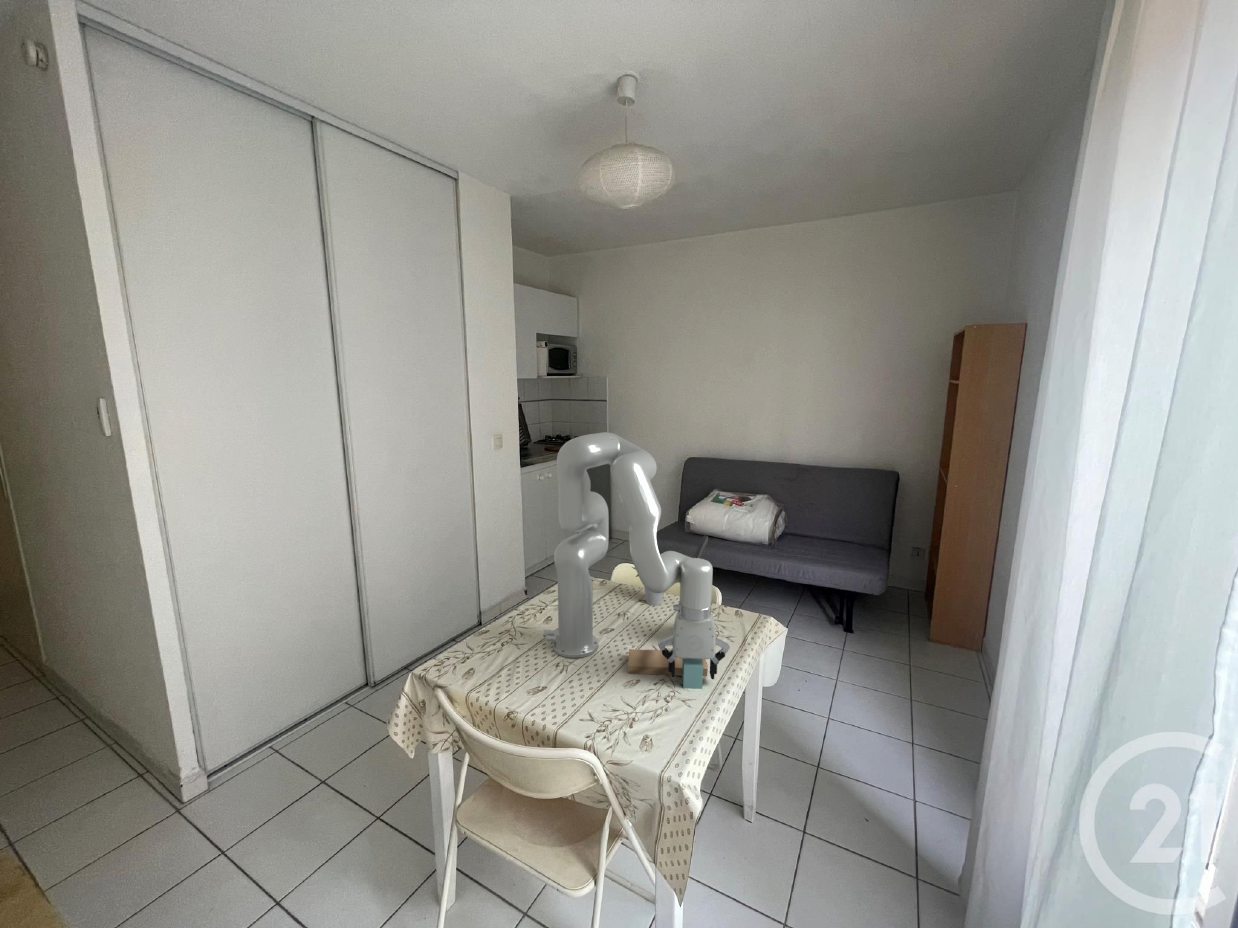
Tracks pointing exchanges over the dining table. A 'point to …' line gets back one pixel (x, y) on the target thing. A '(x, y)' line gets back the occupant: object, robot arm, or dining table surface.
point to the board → (654, 663)
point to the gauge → (692, 673)
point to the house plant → (652, 596)
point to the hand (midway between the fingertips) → (692, 675)
